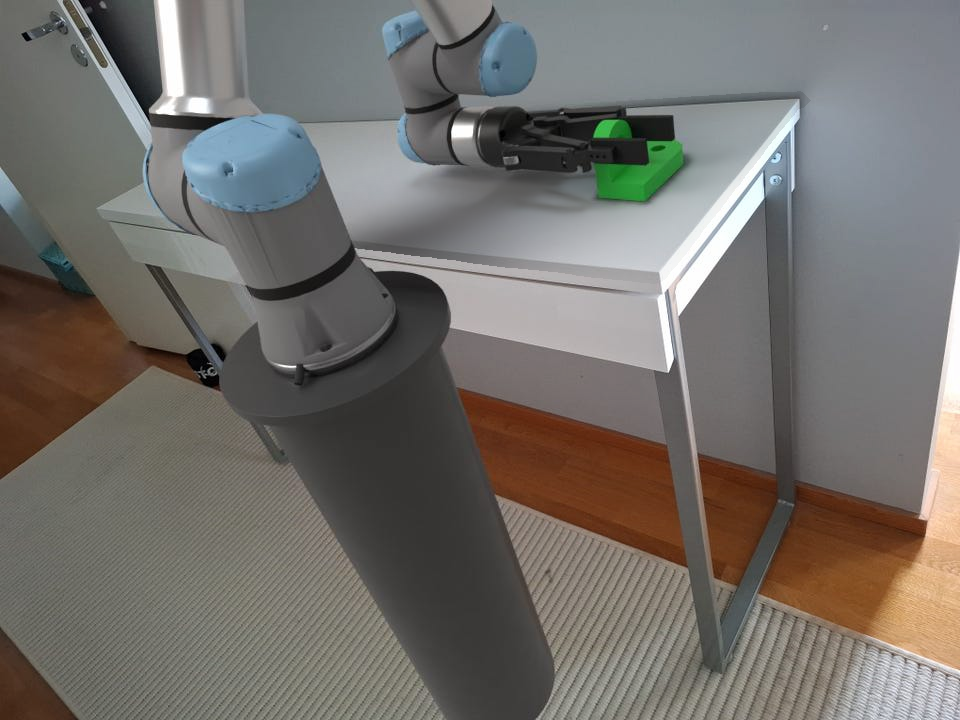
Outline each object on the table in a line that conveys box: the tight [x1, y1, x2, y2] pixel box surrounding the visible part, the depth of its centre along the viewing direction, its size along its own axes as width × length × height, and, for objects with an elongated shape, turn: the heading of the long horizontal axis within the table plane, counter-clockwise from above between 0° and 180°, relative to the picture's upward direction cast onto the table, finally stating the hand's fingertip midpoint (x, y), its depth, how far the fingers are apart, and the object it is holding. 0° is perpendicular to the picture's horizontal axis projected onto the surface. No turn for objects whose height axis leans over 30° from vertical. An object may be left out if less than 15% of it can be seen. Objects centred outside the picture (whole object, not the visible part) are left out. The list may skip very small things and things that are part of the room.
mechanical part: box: [593, 120, 684, 202], centre depth 77 cm, size 12×6×8 cm, turn 142°
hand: (659, 139), depth 72 cm, fingers closed on mechanical part, 5 cm apart
